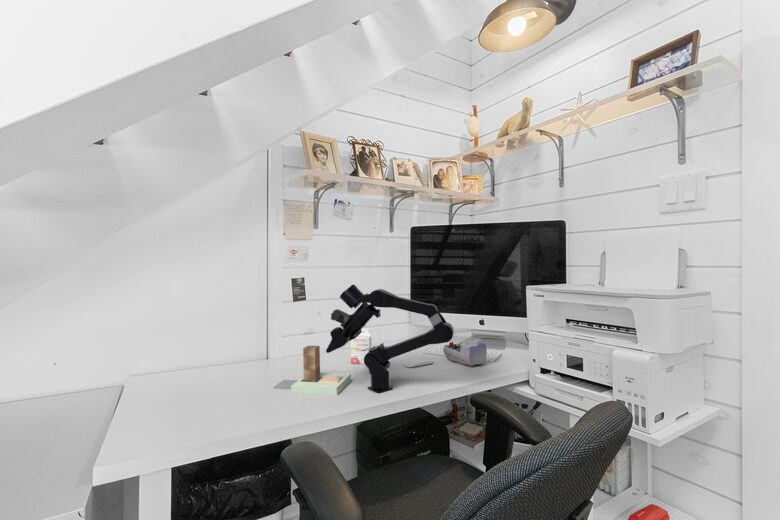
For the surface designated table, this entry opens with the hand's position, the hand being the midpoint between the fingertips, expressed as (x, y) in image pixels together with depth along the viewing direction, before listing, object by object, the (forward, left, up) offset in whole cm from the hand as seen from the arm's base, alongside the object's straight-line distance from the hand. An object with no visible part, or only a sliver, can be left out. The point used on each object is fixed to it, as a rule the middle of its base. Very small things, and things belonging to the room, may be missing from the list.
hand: (331, 349), depth 134 cm
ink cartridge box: (+21, -26, -14) cm, 36 cm away
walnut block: (+6, +5, -13) cm, 15 cm away
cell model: (-8, -61, -14) cm, 63 cm away
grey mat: (+12, +11, -13) cm, 21 cm away
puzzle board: (+3, +3, -13) cm, 14 cm away
